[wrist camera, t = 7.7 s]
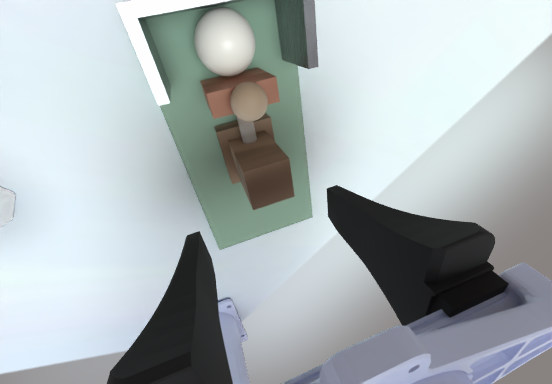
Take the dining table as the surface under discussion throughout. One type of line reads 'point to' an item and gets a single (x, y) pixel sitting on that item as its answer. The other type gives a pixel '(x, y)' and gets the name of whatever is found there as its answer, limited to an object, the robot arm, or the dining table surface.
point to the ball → (224, 41)
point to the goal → (154, 3)
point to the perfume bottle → (6, 206)
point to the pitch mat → (200, 123)
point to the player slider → (250, 135)
